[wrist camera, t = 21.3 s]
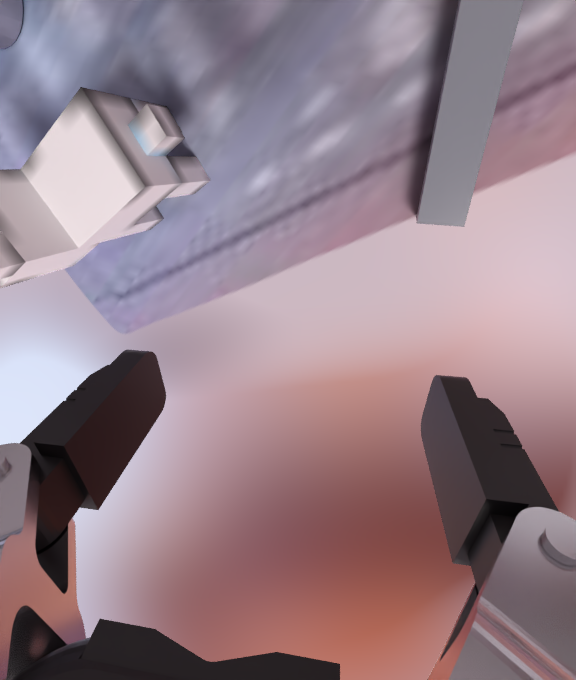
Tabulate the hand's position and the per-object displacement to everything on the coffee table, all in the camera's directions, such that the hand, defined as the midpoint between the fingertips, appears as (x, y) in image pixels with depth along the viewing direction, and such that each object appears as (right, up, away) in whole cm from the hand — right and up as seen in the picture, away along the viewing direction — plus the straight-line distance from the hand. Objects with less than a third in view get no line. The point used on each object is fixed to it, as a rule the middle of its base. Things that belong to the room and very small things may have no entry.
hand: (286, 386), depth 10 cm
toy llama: (-15, +19, +27) cm, 36 cm away
